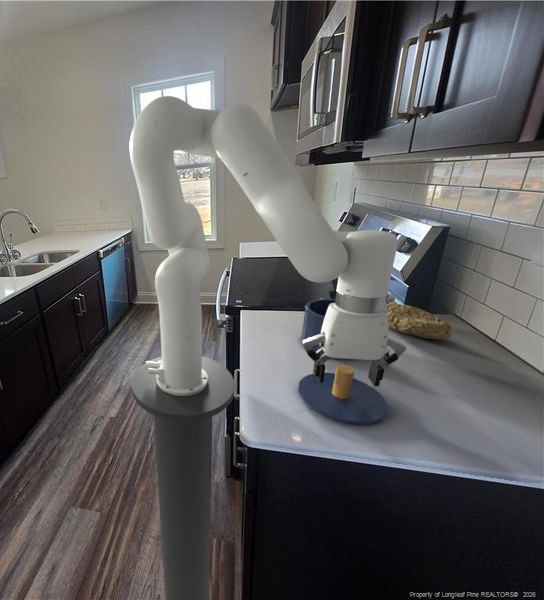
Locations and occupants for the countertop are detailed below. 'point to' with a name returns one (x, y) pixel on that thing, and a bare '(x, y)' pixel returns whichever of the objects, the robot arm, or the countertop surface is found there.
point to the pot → (315, 319)
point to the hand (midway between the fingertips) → (345, 380)
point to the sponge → (417, 322)
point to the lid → (343, 397)
